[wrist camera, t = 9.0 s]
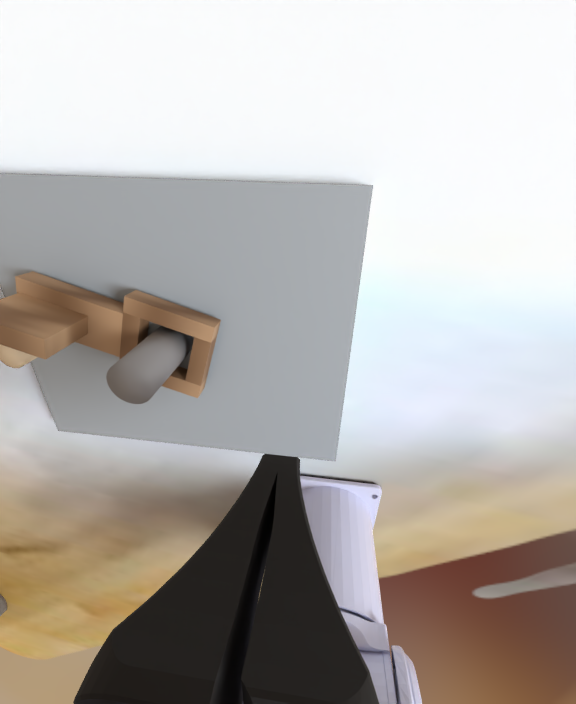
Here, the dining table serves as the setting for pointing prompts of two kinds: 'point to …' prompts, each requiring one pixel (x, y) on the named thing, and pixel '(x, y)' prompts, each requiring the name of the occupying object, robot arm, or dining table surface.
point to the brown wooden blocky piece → (101, 325)
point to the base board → (198, 303)
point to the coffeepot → (2, 605)
